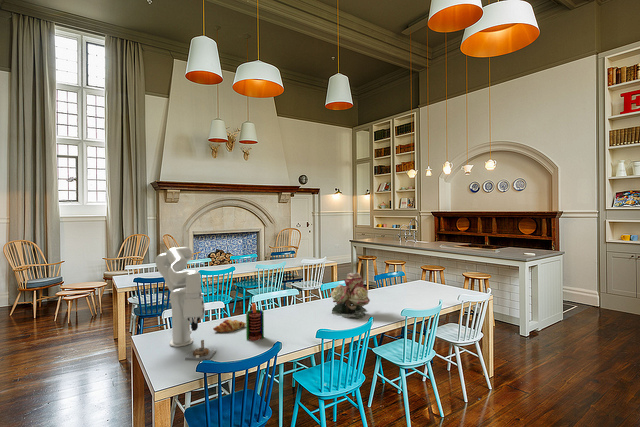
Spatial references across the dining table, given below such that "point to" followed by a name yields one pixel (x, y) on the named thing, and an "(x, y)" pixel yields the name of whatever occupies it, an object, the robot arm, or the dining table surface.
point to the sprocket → (201, 350)
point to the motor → (254, 324)
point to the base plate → (208, 356)
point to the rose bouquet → (350, 297)
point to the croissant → (229, 326)
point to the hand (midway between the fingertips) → (194, 329)
